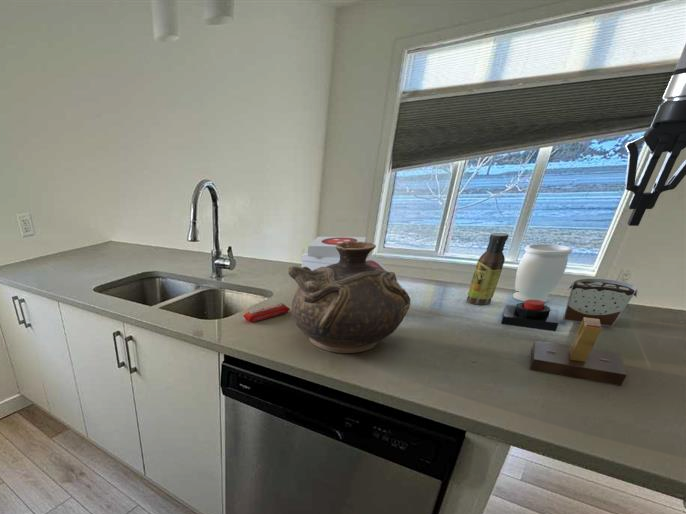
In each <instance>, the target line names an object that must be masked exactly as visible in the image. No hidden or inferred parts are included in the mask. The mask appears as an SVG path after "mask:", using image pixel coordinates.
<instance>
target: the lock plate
mask: <svg viewBox="0 0 686 514" xmlns="http://www.w3.org/2000/svg"><path fill="white" fill-rule="evenodd" d="M570 347H571V344H562V343H556V342H551V341H544V340H543V341H542V340H534V341H533V344H532V346H531V348H530V361H529V362H530V363H529V370H531V371H536V372H542V373H548V374H553V375H558V376H564V377H570V378H576V379H580V380H586V381H592V382H598V383H602V384H603V383H604V384H608V385H614V386H615V385H616V386H619V387H621V386H622V385H623V384H624V382H625V379H626V378H627V376H628V373H627V370H626V367H625V364H624V361H623V358H622V354H621V352H618V351H612V350H611V351H610V350H605V349H597V348H592V350H591V352H590V354H589V356H588V358H587V360H586V362H582V361H576V360H570V353H569V349H570Z"/></svg>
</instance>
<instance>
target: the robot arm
mask: <svg viewBox="0 0 686 514" xmlns="http://www.w3.org/2000/svg"><path fill="white" fill-rule="evenodd" d="M662 99H663V100H665V101H664V102H662V103H661V104H659V105H658V108H657V110H656V113H655V115H654V117H653V120H652V122H651V125H650V127H649V128H648V129H647V130H646V131H645V132H644V133H643V135H642V136H641V137H638V138H637V139H635V140H632V141H629V142H627V143H626V144H625V145H624V146H625V150H626V151H627V154H628V155H627V165H626V172H625V173H626V174H625V183H624V189H625V190H626V191H629V192H631V193H633V194H632V196H631V199H630V201H629V204H628V206H627V207H628V209H629V210H632V212H631V214H630V216H629V218H628V221H627V225H628V226H630V227H639V226H640V223H641V221H642V219H643V217H644V214H645V212H646V210H653V208H654V207H655V205H656V203H657V202H658V199H659V197H660V196H661V194H662V193H663V192H667V191H672V190H674V189H676V188H677V187H678V185H679V184H680V182H682V180H683V179H684V178H685V177H686V159H685V160H684V161H683V162H682V163H681V165H680V166H679V168H677V170H676V171H675V173H674V174H673V175H672V176H671V178H670V179H669V177H670V174H671V172H672V170H673V168H674V166H675V163H676V162H677V159H678V158H679V156H680V154H681V153H682V151H683V150H684V149H686V43H685V44H684V46H683V49H682V51H681V54H680V57H679V59H678V61H677V63H676V67H675V69H674V71H673V73H672V75H671V78H670V80H669V82H668V84H667V87H666V89H665V91H664V94H663V96H662ZM644 142H645V145H646V146H647V148H648V151H650V153H649V155H648V159H647V161H646V163H645V166H644V168H643V171H642V173H641V174H640V177H639V179H638V181H637V183H636V179H637V170H638V161H639V150H641V149H642V147H643V143H644ZM666 152H667V153H666ZM663 153H666V157H665V159H664V160H663V164H662V166H661V167H660V170H659V173H658V175H657V176H656V179H655V181H654V183H653V186H652V188H651V192H647V191H646V189H647V187H648V184H649V182H650V181H651V180H650V179H651V178H652V176H653V173H654V171H655V169H656V166H657V164H658V162H659V160H660V158H661V157H662V154H663ZM668 179H669V180H668ZM645 191H646V192H645Z"/></svg>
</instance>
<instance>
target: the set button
mask: <svg viewBox="0 0 686 514" xmlns="http://www.w3.org/2000/svg"><path fill="white" fill-rule="evenodd" d="M523 303H524V306H523V307H524V308H526V309H531V310H543V307H544V305H546V302H543V301H540V300H526V301H525V302H523Z"/></svg>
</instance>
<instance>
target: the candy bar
mask: <svg viewBox="0 0 686 514" xmlns="http://www.w3.org/2000/svg"><path fill="white" fill-rule="evenodd" d="M289 311H291V309H290V307H288V306H287V305H285V304H284V303H282V302H280V303H276V304H271V305H268V306H263V307H259V308H256V309H251V310H248V311H246V312H245V313H244V314H242V316H243V317H244V319H245V321H246V322H249V323H257V322H259V321H263V320H266V319H270V318H274V317H278V316H281V315H285V314H287V313H288V312H289Z"/></svg>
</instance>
